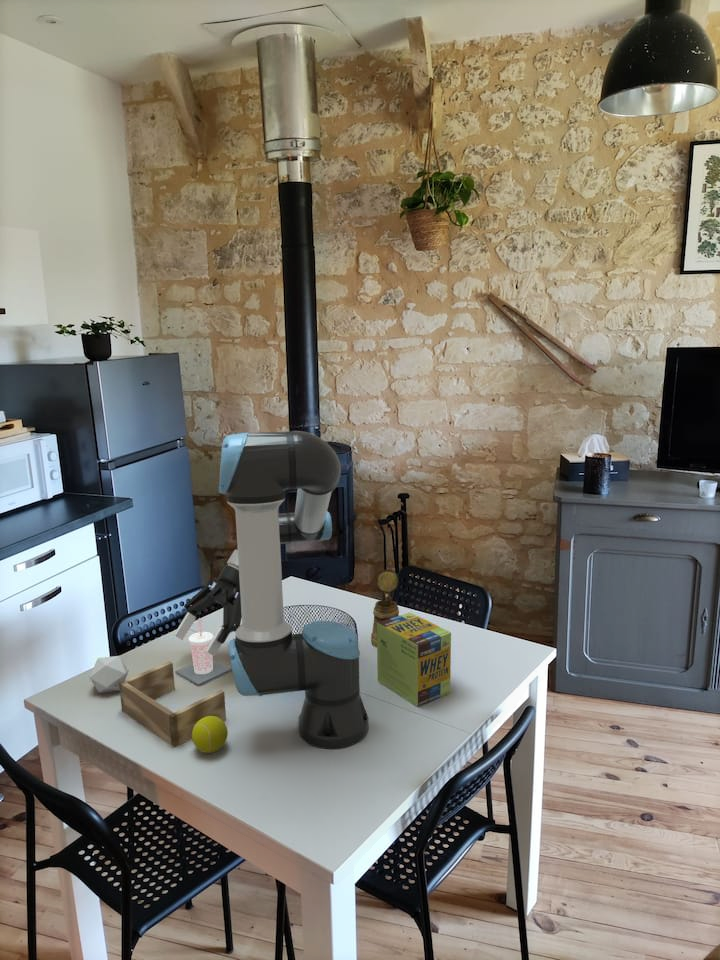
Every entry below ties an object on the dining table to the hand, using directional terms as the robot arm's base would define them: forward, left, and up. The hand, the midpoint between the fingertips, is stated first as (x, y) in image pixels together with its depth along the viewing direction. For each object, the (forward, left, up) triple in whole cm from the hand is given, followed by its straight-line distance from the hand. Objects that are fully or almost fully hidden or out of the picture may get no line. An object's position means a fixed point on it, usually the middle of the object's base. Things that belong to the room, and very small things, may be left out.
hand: (193, 645), depth 171 cm
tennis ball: (-31, +11, -8) cm, 34 cm away
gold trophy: (-15, -50, -8) cm, 53 cm away
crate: (-14, +12, -8) cm, 20 cm away
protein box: (-39, -38, -8) cm, 55 cm away
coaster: (0, -2, -8) cm, 8 cm away
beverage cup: (0, -2, -8) cm, 8 cm away
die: (+7, +19, -8) cm, 22 cm away
